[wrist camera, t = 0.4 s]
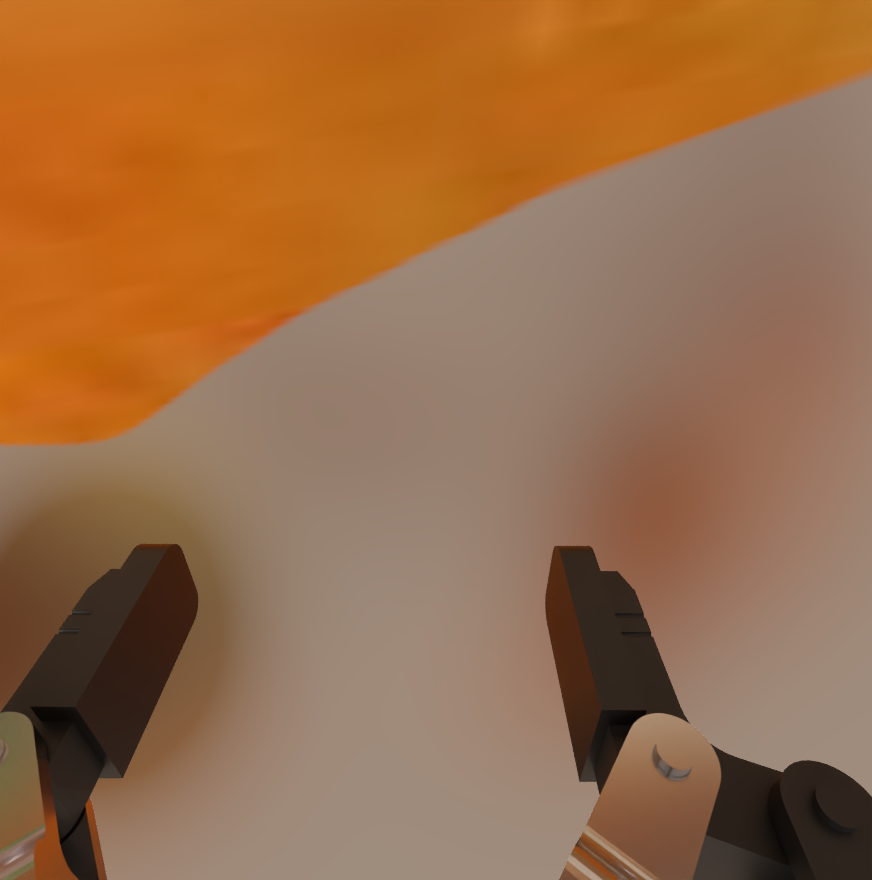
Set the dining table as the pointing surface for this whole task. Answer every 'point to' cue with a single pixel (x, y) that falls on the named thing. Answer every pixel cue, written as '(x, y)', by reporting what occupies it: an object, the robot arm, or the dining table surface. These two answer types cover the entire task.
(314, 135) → the dining table surface
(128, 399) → the dining table surface
